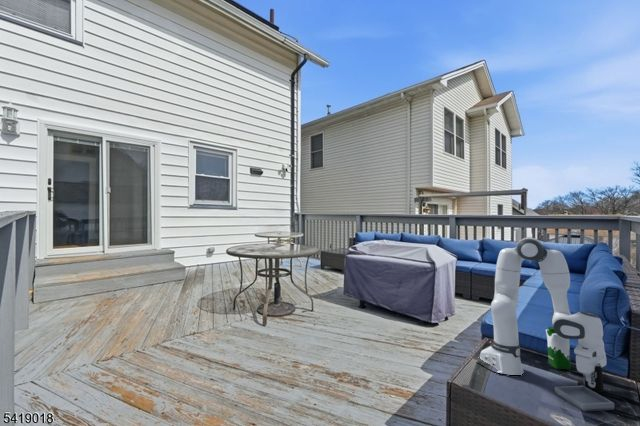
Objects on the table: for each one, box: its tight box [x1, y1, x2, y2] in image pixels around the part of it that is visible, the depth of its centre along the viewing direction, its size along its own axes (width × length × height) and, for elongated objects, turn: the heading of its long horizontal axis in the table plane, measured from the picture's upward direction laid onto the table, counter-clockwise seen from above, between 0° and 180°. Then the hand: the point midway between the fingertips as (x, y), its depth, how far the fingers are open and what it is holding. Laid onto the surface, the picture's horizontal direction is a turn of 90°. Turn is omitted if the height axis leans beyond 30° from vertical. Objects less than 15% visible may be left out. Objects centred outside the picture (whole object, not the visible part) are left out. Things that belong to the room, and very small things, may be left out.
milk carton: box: [545, 326, 572, 370], centre depth 160 cm, size 9×9×20 cm
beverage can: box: [582, 363, 604, 394], centre depth 137 cm, size 7×7×12 cm
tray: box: [554, 385, 616, 412], centre depth 128 cm, size 14×14×3 cm
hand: (593, 379), depth 137 cm, fingers closed on beverage can, 6 cm apart
